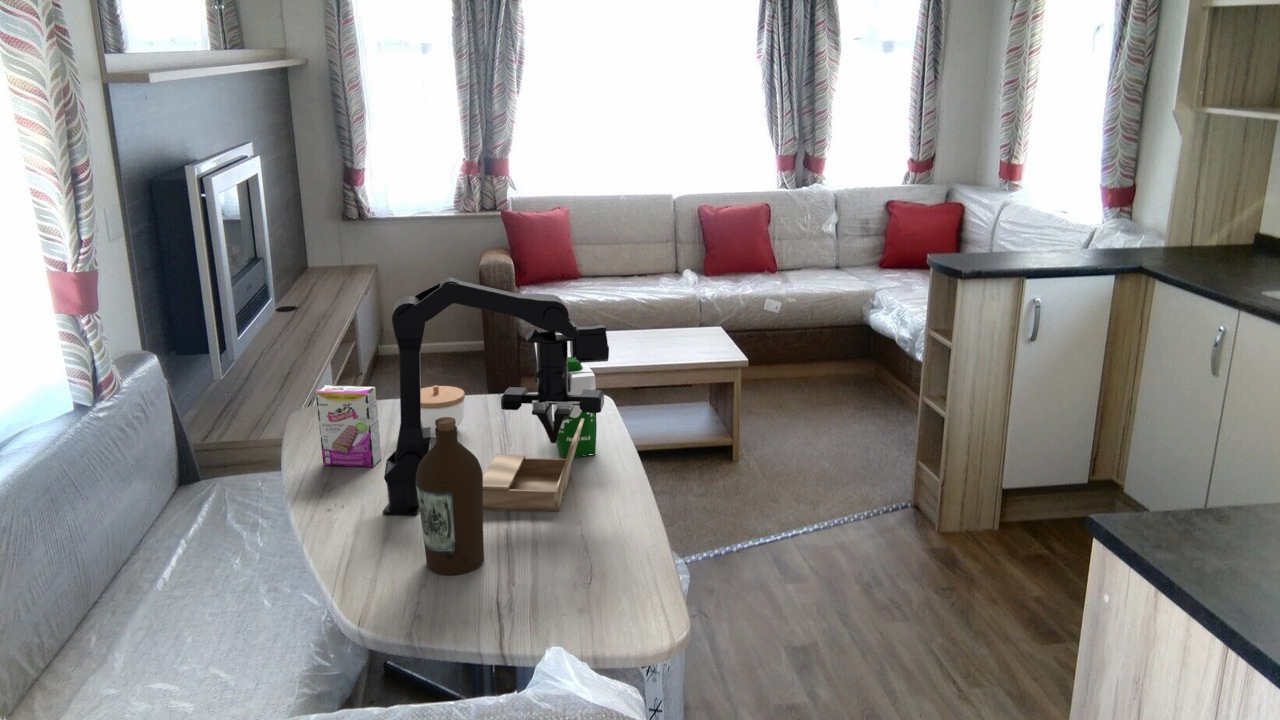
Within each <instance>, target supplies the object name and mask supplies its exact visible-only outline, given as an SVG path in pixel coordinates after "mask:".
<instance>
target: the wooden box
mask: <svg viewBox="0 0 1280 720" xmlns="http://www.w3.org/2000/svg"><path fill="white" fill-rule="evenodd" d="M565 462H566V458H565V459H563V458H557V457H556V458H551V457H549V458H548V457H547V458H546V457H545V458H544V457H525V459H524V461H523V463H522V465H521V467H520V469H519V471H518V473H517V475H516V476H515V478H514V480H513V482H512V484H511V486H510V488H509V490H489V489H483V511H509V512H510V511H515V512H516V511H519V512H548V511H558V510H559V509H560V508H559V507H561V504H562V503H563V500H564V497H565V495H564V494H566V492H565V491H567V489H568V487H569V484H568V483H570V481H571V479H572V472H571V471H572V470H571V467H572V465H571V466H570V469H569V471H568V474H567V477H566V479H565V482H564V484H563V487H562V489H561V492H559V491H558V487H559V483H560V480H561V476H562V473H563V469H564V465H565ZM570 478H571V479H570ZM569 480H570V481H569ZM567 486H568V487H567ZM566 488H567V489H566ZM563 496H564V497H563ZM562 499H563V500H562ZM561 502H562V503H561ZM559 511H560V510H559ZM559 511H558V512H559Z"/></svg>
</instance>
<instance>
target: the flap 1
mask: <svg viewBox="0 0 1280 720" xmlns="http://www.w3.org/2000/svg"><path fill="white" fill-rule="evenodd" d="M525 458H526V454H510V453H509V454H508V453H507V454H505V453H503V454H502V453H500V454H497V453H496V454H495V455H494V458H492V460H491V462H490V464H489V466H488V467H487V469H486V470H485V472H484V474H483V489H489V490H509V488H510V486H511V484H512V482H513V480H514V478H515V476H516V475H517V473H518V471H519V469H520V467H521V465H522V463H523V461H524V459H525Z"/></svg>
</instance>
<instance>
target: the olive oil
mask: <svg viewBox="0 0 1280 720" xmlns="http://www.w3.org/2000/svg"><path fill="white" fill-rule="evenodd" d="M455 424H456V421H455V419H454V418H452V417H442V418H439V419H437V420H436V421H435V425H436V428H435V434H436V438H435V441H436V442H435V443H434V444H433V446H431V449H430V451H429V452H428V453H427V454H426V455H425V456H424V457H423V459H422V460H421V461H420V463H419V465H418V469H417V473H416V489H417V494H418V501H419V508H420V511H419V513H420V521H421V529H422V535H423V536H422V537H423V543H424V553H425V554H424V555H425V562H426V566H427V569H429V570H430V571H432V572H433V573H435V574H439V575H443V576H454V575H455V576H456V575H462V574H466V573H469V572H472V571H475V570H476V569H478V568H479V567H480V566H481V565H482V564H483V562H484V560H485V552H484V551H485V550H484V548H485V547H484V543H485V542H484V510H483V475H484V474H483V470H482V466H481V464H480V462H479V460H478V458H477V456H476V455H475V454H474V453H472V452H471V450H469V449H468V448H466V446H464V445H463V444H462V443H461V442H459V440H458V428H457V427H456V426H455Z"/></svg>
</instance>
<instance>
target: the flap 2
mask: <svg viewBox="0 0 1280 720" xmlns="http://www.w3.org/2000/svg"><path fill="white" fill-rule="evenodd" d="M583 423H584V419H583V418H581V421H580V423H579V426H578V428H577V430H576V433H575V435H574V438H573V440H572V443H571V445H570V447H569V451H568V455H567V458H565V459H566V462H565V465H564V469H563V473H562V476H561V480H560V483H559V487H558V491H559V492H561V489H562V487H563V484H564V482H565V479H566V477H567V474H568V471H569V469H570V466H571V467H572V463H573V460H574V458H575V457H574V455H575V451H576V448H577V444H578V440H579V437H580V433H581V430H582V426H583Z"/></svg>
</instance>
